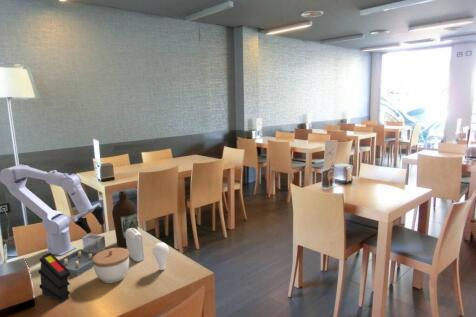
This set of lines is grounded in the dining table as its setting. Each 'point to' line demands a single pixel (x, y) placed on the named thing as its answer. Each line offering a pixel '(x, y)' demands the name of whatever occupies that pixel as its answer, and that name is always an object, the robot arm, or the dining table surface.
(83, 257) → the tray
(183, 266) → the dining table surface
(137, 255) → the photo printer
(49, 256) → the black layered block
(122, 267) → the lidded bowl
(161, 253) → the lightbulb
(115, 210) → the olive oil
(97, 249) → the block
